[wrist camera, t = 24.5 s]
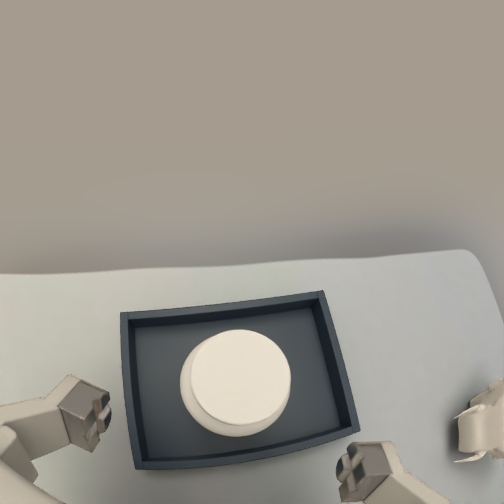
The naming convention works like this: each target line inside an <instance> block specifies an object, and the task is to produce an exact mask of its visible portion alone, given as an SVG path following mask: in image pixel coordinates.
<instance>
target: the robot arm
mask: <svg viewBox="0 0 504 504" xmlns="http://www.w3.org/2000/svg"><path fill="white" fill-rule="evenodd" d="M109 400H110V396H109V392H107V391H105V390H103V389H101V388H99V387H96V386H94V385H92V384H90V383H88V382H86V381H84V380H82V379H80V378H78V377H76V376H74V375H72V374H70V375H67V376H66V377H65V378H64V379H63V380H62V381H61V382H60V383H59V384H58V385H57V386H56V387H55V388H54V389H53V390H52V391H51V392H50V393H49V394H48V395H47V396H46V397H45V399H43V398H41V397H40V398H35V399H31V400H26V401H22V402H17V403H12V404H7V405H1V406H0V504H65V503H63V502H62V501H60V500H58V499H57V498H55V497H53V496H52V495H50V494H48V493H47V492H45V491H44V490H42V489H40V488H39V487H37V486H36V485H34V484H33V482H34V481H35V479H36V478H37V476H38V472H37V470H36V469H35V467H34V465H33V464H32V462H31V460H34V459H36V458H39V457H41V456H44V455H46V454H48V453H51V452H53V451H55V450H58V449H60V448H62V447H65V446H67V445H69V444H70V443H72V444H74V445H77V446H79V447H81V448H83V449H85V450H87V451H89V452H91V453H92V452H93V450H94V449H95V447H96V446H97V444H98V442H99V441H100V438H99V434H100V433H103V432H105V431H106V429H107V428H108V426H109V423H110V420H111V408H110V407H109V405H108V404H107V403H108V402H109ZM347 451H348V453H346V454H344V455H342V456H341V458H340V459H339V461H338V463H337V466H336V477H337V480H339V481H340V482H341V483H342V484H341V485H340V487H339V493H340V498H341V502H359V501H363V503H364V504H451V502H450V501H449V500H448V499H446V498H445V497H443V496H442V495H440V494H439V493H437V492H436V491H435V490H433V489H432V488H430V487H429V486H427V485H426V484H425V483H423V482H422V481H420V480H419V479H418V478H416V477H415V476H413V475H412V474H411V473H409V472H405V470H404V468H403V465H402V463H401V460H400V458H399V456H398V453H397V451H396V449H395V446H394V444H393V443H392V442H391V441H381V442H352V443H351V444H350V445H349V446H348V448H347ZM502 504H504V503H502Z"/></svg>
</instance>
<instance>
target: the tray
mask: <svg viewBox="0 0 504 504" xmlns="http://www.w3.org/2000/svg"><path fill="white" fill-rule="evenodd" d="M230 330H249V331H254V332H257V333H259V334H262V335H264V336H266V337H267V338H269V339H270V340H272V341H273V342H274V343H275V344H276V345H277V346H278V347H279V348H280V349H281V351H282V352H283V354H284V355H285V357H286V359H287V362H288V365H289V368H290V374H291V383H290V394H289V398H288V401H287V404H286V406H285V408H284V410H283V412H282V413H281V415H280V416H279V417H278V419H277V420H276V421H275V422H273V423H272V424H271V425H270V426H268V427H267V428H266V429H264V430H262V431H260V432H257V433H255V434H252V435H248V436H240V437H231V436H225V435H220V434H217V433H214V432H212V431H210V430H208V429H206V428H205V427H203V426H202V425H201V424H199V423H198V422H197V421H196V420H195V419H194V418H193V417H192V415H191V414H190V413H189V411H188V410H187V408H186V406H185V404H184V402H183V399H182V396H181V391H180V376H181V371H182V368H183V365H184V363H185V361H186V359H187V357H188V356H189V354H190V353H191V352H192V351H193V349H194V348H195V347H196V346H198V345H199V344H200V343H202V342H203V341H205V340H206V339H208V338H210V337H212V336H215V335H217V334H219V333H222V332H225V331H230ZM120 335H121V360H122V375H123V388H124V398H125V407H126V415H127V423H128V430H129V437H130V443H131V449H132V454H133V460H134V465H135V469H138V470H144V469H145V470H166V469H188V468H201V467H212V466H221V465H228V464H235V463H242V462H248V461H254V460H259V459H264V458H269V457H274V456H279V455H283V454H287V453H291V452H295V451H299V450H303V449H307V448H310V447H314V446H317V445H321V444H324V443H327V442H330V441H333V440H336V439H339V438H342V437H345V436H348V435H351V434H353V433H356V432H359V431H360V426H359V421H358V417H357V412H356V408H355V404H354V400H353V395H352V391H351V387H350V383H349V379H348V375H347V372H346V368H345V364H344V360H343V356H342V353H341V349H340V345H339V342H338V338H337V335H336V331H335V328H334V324H333V321H332V317H331V314H330V310H329V307H328V304H327V300H326V297H325V294H324V291H323V290H321V291H317V292H316V291H315V292H308V293H301V294H294V295H287V296H280V297H272V298H265V299H257V300H249V301H240V302H232V303H223V304H214V305H204V306H194V307H184V308H173V309H161V310H149V311H135V312H120Z"/></svg>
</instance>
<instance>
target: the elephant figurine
mask: <svg viewBox="0 0 504 504" xmlns="http://www.w3.org/2000/svg"><path fill="white" fill-rule="evenodd" d="M488 389H490V390H487V391H484V392H482V393H481V394H479V395H477V396H476V397H474V398H473V399H472V400H471V401H470V408H469V409H468V410H466V411H464V412H462V413H461V414H460V415H458V416H457V417H459V416H460V417H459V419H458V429H459V447H458V449H459V451H460V452H465V453H472V452H475V453H476V454H475V455H474V456H472V457H470V458H467V459H463V460H458V461H454V462H469V461H474V460H478V459H480V458H481V457H482V456H484V455H485V453H488V454H491V455H494V456H492V459H494V460H495V459H500V458H504V378H503V379H500V380H496V381H493V382H491V383H490V384H489V386H488ZM457 417H455V418H457Z"/></svg>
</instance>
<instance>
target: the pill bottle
mask: <svg viewBox="0 0 504 504" xmlns="http://www.w3.org/2000/svg"><path fill="white" fill-rule="evenodd" d="M290 383H291V374H290V368H289V365H288V362H287V359H286V357H285V355H284V354H283V352H282V351H281V349H280V348H279V347H278V346H277V345H276V344H275V343H274V342H273V341H272V340H270V339H269V338H267V337H266V336H264V335H262V334H259V333H257V332H254V331H249V330H230V331H225V332H222V333H219V334H217V335H215V336H212V337H210V338H208V339H206V340H205V341H203V342H202V343H200V344H199V345H198V346H196V347H195V348H194V349H193V351H192V352H191V353H190V354H189V356H188V357H187V359H186V361H185V363H184V365H183V368H182V371H181V376H180V391H181V396H182V399H183V402H184V404H185V406H186V408H187V410H188V411H189V413H190V414H191V415H192V417H193V418H194V419H195V420H196V421H197V422H198V423H199V424H201V425H202V426H203V427H205V428H206V429H208V430H210V431H212V432H214V433H217V434H220V435H225V436H231V437H240V436H248V435H252V434H255V433H257V432H260V431H262V430H264V429H266V428H267V427H268V426H270V425H271V424H272V423H273V422H275V421H276V420H277V419H278V417H279V416H280V415H281V413H282V412H283V410H284V408H285V406H286V404H287V401H288V398H289V394H290Z"/></svg>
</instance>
